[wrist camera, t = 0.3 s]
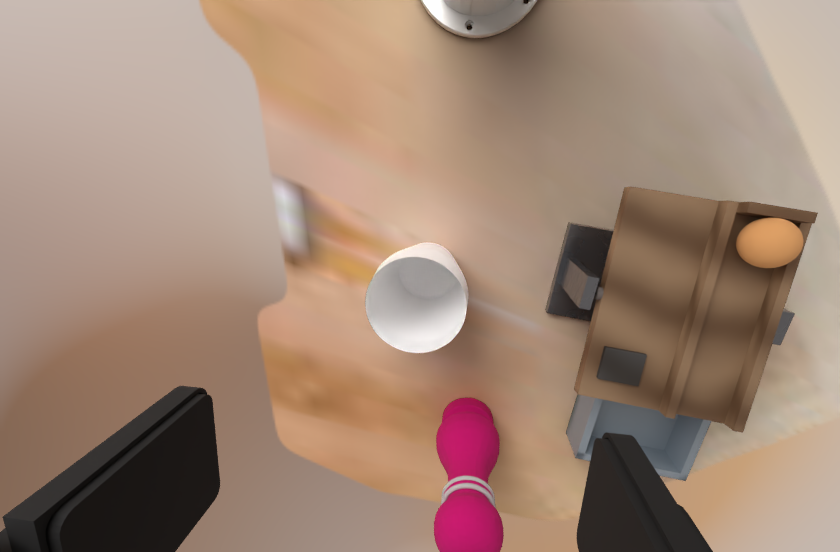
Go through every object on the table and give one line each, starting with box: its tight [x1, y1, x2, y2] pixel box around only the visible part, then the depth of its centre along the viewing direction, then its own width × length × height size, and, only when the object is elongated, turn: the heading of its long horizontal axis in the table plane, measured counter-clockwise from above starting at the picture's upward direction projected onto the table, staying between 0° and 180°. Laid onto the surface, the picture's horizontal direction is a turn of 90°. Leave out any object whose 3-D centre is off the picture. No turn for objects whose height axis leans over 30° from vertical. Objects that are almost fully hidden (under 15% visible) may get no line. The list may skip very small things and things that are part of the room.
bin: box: [566, 395, 711, 481], centre depth 44 cm, size 13×12×4 cm
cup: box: [365, 242, 469, 353], centre depth 39 cm, size 9×9×12 cm
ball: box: [736, 217, 804, 268], centre depth 31 cm, size 4×4×4 cm
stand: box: [545, 223, 795, 345], centre depth 39 cm, size 10×18×9 cm, turn 81°
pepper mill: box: [434, 398, 503, 552], centre depth 40 cm, size 7×7×20 cm
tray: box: [574, 187, 818, 432], centre depth 34 cm, size 19×15×4 cm
